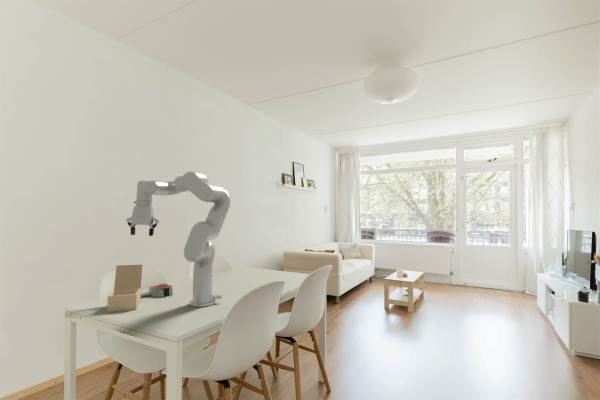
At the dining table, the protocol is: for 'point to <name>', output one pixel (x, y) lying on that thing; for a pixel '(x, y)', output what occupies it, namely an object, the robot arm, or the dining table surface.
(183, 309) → the dining table surface
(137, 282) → the lid
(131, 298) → the box
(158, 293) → the tape dispenser
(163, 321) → the dining table surface
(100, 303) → the dining table surface
